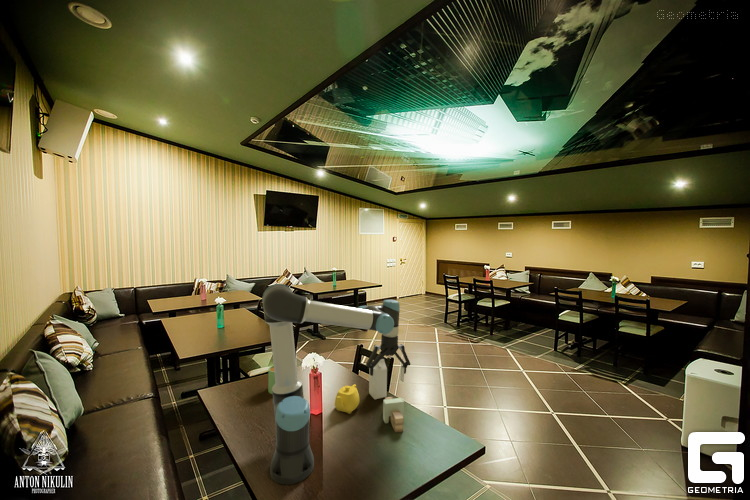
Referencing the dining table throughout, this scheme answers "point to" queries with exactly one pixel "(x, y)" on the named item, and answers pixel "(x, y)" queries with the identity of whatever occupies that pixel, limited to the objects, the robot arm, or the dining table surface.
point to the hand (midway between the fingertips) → (387, 381)
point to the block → (392, 408)
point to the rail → (396, 419)
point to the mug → (271, 379)
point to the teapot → (347, 399)
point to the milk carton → (379, 381)
